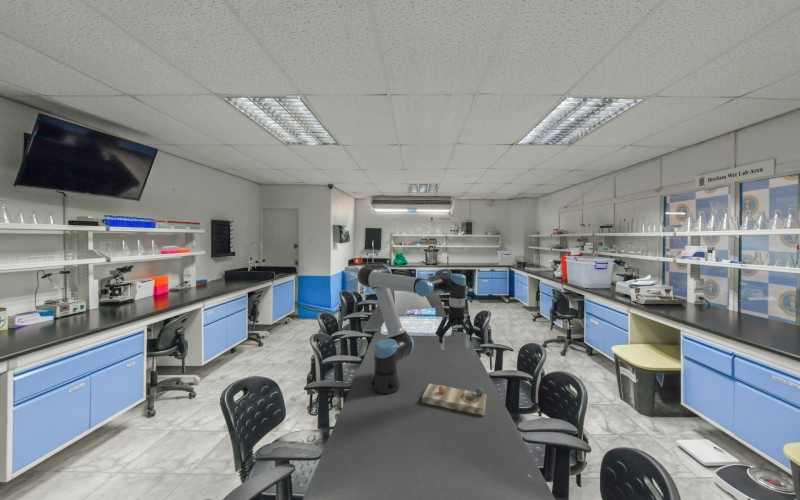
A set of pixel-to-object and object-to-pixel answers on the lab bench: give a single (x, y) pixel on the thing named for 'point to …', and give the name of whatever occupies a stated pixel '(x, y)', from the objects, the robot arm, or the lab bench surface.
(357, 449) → the lab bench surface
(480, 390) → the grey ball
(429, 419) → the lab bench surface
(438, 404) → the board
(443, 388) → the ball
